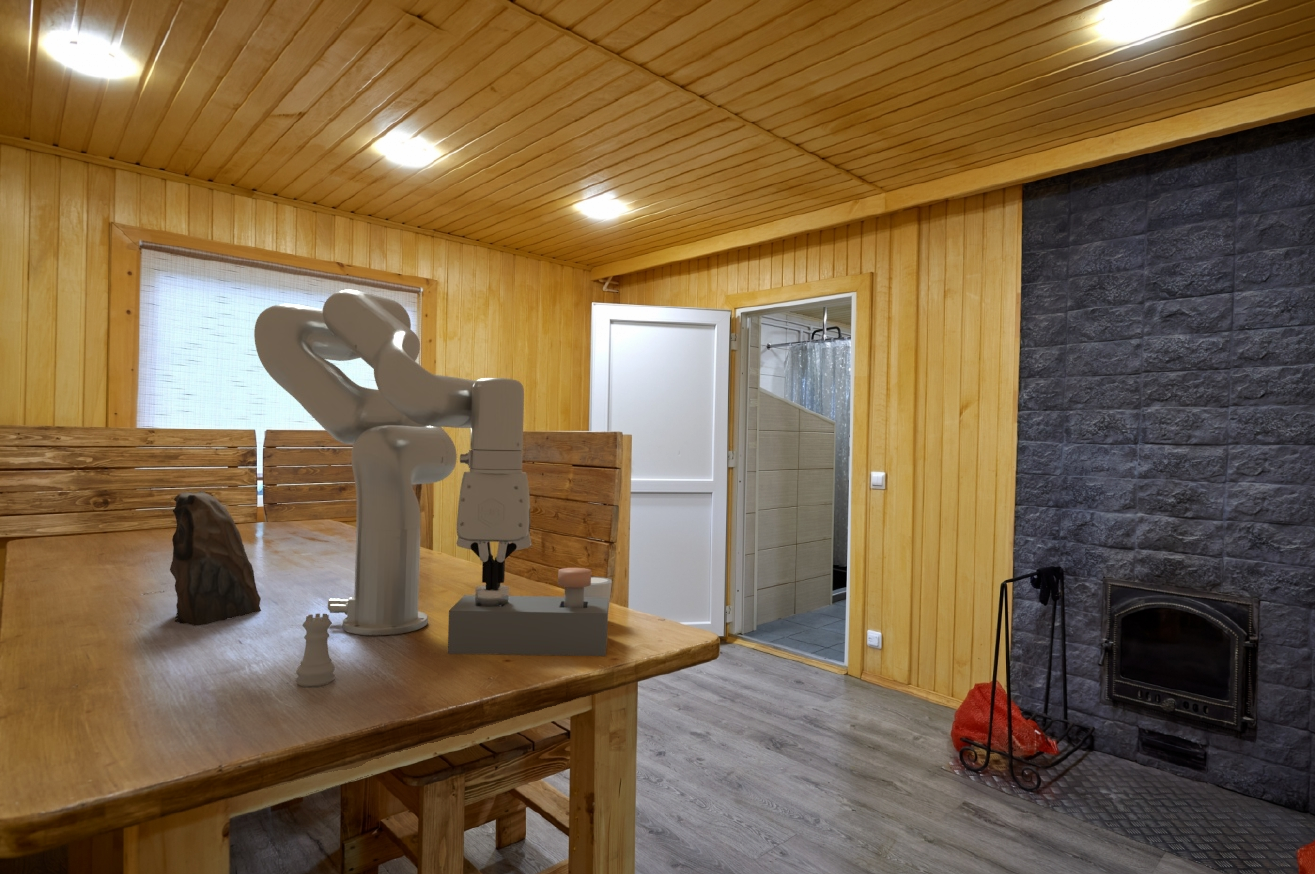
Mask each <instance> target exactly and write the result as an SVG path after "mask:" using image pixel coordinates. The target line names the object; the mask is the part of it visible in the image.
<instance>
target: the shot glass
mask: <svg viewBox="0 0 1315 874" xmlns="http://www.w3.org/2000/svg"><path fill="white" fill-rule="evenodd" d="M612 583H613V579H610V578H608V577H603V576H591V585H590V586H587V587H584V597H598V598H608V612H609V610H610V609H609V608H610V602H611V592H612V585H613V584H612Z"/></svg>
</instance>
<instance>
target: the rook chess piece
mask: <svg viewBox="0 0 1315 874" xmlns="http://www.w3.org/2000/svg"><path fill="white" fill-rule="evenodd" d="M313 616H314V614H308V616H306V617H305V621H304V622H303V623H302V627H303V629H305V632H306V633H305V635H304V636H303V638H304V639H305V648H304V654H303V656H302V660H301V661H300V663H299V664H300V665H299V666H298V667H297V668H296V672H295V674H296V675H297V677H295V681H294V682H295V683H296V684H297V686H298V685H299V687H302V688H315V687H323V686H326V685H329V684H330V683H332V682H333V681H334V680H335V678H336V674H335V673H334V671H335V670H336V667H335V665H334V663H333V662H332V659H331V658H330V654H329V647H328V646H329V645H328V638H329V637H330V634H329V633H328V632H329V630H328V629H329V628H330V626H332V624H333V623H332V621H331V620H330V617H329V616H330V615H329V614H327V613H322V616H321V613H315V616H314V617H313Z"/></svg>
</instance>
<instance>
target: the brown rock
mask: <svg viewBox="0 0 1315 874" xmlns="http://www.w3.org/2000/svg"><path fill="white" fill-rule="evenodd" d="M173 500H174V502H175V507H174V508H173V509H172V513H173V514H174V517H175V520H176V522H175V523H176V527H175V531H174V533H173V536H172V539H171V540H172V546H173V550H172V559H171V560H172V561H171V564H170V568H169V571H170V573H171V575H172V576H173V578H174V580H175V584H174V591H175V593H176V598H177V599H176V600H177V601H176V605H175V606H176V616H175V617H174V618H175V620H174V622H175V623H178V624H182V625H183V624H184V625H185V624H186V625H191V626H193V627H194V626H195V627H196V626H197V627H199V626H204V625H209V624H213V623H217V622H222V621H226V620H229V619H234V618H237V617H244V616H248V615H251V614H254V613H258V612H262V609H261V606H260V605H261V597H260V594H259V591H258V589H257V583H256V578H255V574H254V573H255V571H254V568H253V567H254V566H253V565H252V563H251V562H250V560H249V558H248V554H247V552H246V551H245V547H244V546H245V545H244V542H243V538H242V536H241V532H240V530H239V529H238V528H237V525H236V524H235V520H234V519H233V517H232V515H231V514H230V513H229V511H228V509H227V508H226V507H225V505H223V504H222V503H221V502H220V501H219V500H218V499H217V497H215V496H213V495H211V494H209V493H206V491H204V490H200V491H199V492H198V491H196V492H191V491H183V492H179V493H178V494H177V495H176V496H175V497H174V499H173Z"/></svg>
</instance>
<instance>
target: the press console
mask: <svg viewBox="0 0 1315 874" xmlns="http://www.w3.org/2000/svg"><path fill="white" fill-rule="evenodd" d="M564 599H565V596H543V595H542V596H537V595H536V596H533V595H509V601H508V602H507V603H505V604H501V606H482V605H480V604H477V603H475V594H464V595H462V597H461V598H459V600H458V601H457V602H456V603H455V604H454V605H453V606H452V607H450V609H449V610H448V629H447V634H448V635H447V654H449V655H450V654H451V655H453V654H454V655H458V654H459V655H463V654H464V655H505V656H506V655H513V656H514V655H515V656H517V655H518V656H519V655H520V656H575V657H578V656H579V657H580V656H581V657H583V656H585V657H586V656H587V657H607V645H608V628H609V627H608V626H609V625H608V623H609V621H608V620H609V611H608V598H598V597H584V602H583V608H564Z"/></svg>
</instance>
